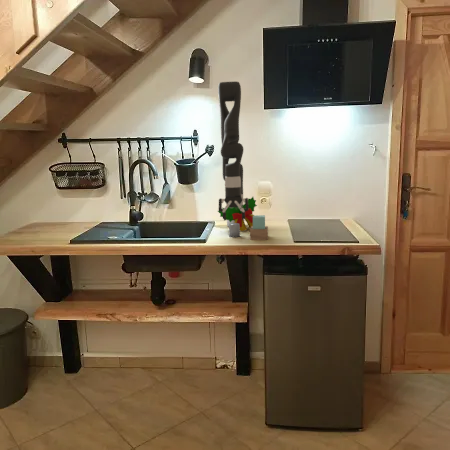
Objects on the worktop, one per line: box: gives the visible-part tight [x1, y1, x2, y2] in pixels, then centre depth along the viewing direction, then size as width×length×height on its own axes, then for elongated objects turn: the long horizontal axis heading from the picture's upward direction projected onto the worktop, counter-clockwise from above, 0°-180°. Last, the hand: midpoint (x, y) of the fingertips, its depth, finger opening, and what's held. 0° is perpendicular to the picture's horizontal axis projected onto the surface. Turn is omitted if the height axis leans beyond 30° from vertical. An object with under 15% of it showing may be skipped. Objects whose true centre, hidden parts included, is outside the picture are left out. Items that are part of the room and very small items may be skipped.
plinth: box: [249, 225, 269, 241], centre depth 209 cm, size 8×8×5 cm
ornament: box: [217, 196, 258, 232], centre depth 228 cm, size 21×8×15 cm, turn 96°
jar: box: [228, 223, 241, 238], centre depth 214 cm, size 5×5×6 cm
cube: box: [253, 214, 266, 229], centre depth 208 cm, size 6×6×6 cm
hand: (233, 219), depth 213 cm, fingers open, 8 cm apart
